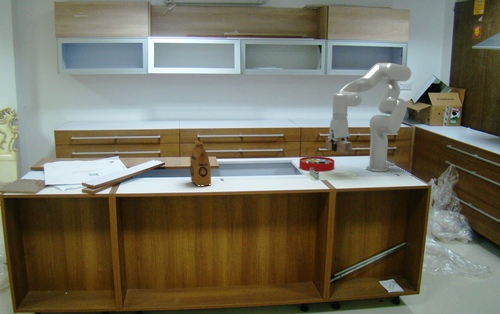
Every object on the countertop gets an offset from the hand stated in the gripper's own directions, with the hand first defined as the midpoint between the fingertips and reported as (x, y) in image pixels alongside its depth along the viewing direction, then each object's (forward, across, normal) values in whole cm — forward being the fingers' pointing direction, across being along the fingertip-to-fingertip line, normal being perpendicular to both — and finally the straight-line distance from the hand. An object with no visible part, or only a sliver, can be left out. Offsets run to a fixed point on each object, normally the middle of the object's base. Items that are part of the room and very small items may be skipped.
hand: (338, 149), depth 247 cm
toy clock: (+16, -2, -20) cm, 26 cm away
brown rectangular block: (0, 0, 0) cm, 0 cm away
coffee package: (+15, +68, -30) cm, 75 cm away
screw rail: (+14, +12, -5) cm, 19 cm away
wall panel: (+15, +4, -2) cm, 16 cm away
